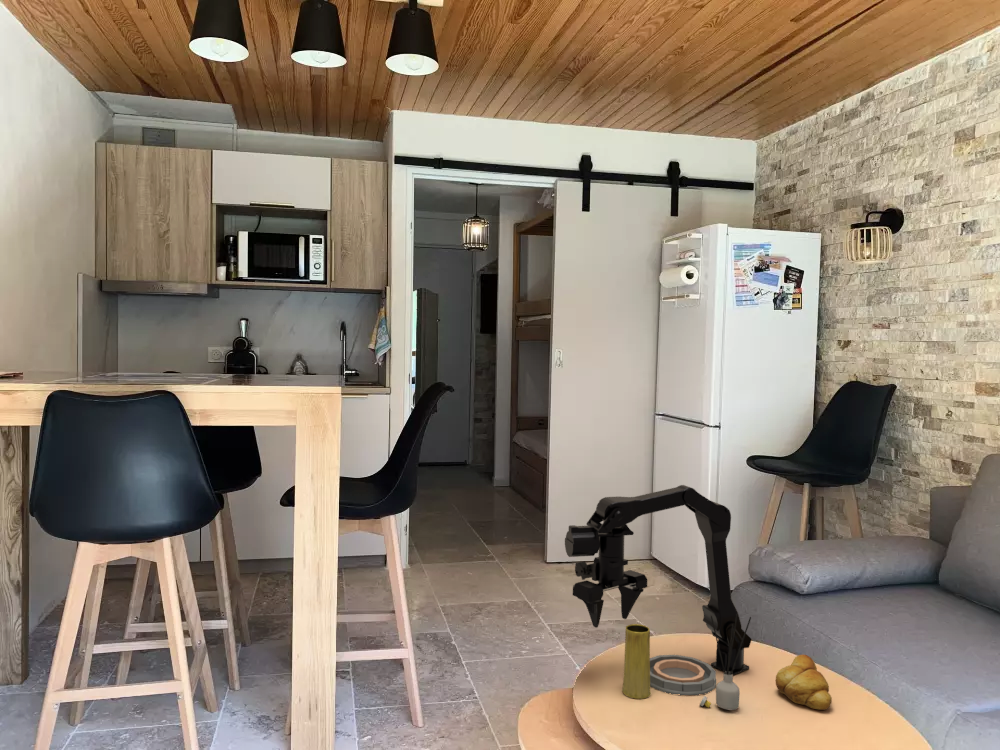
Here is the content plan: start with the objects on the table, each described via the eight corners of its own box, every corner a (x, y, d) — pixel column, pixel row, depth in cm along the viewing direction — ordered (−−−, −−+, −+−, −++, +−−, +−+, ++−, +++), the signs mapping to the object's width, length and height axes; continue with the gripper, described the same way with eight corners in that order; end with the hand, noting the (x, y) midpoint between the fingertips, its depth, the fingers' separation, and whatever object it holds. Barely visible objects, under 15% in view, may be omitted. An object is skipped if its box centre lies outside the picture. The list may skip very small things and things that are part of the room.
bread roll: (842, 713, 154) (843, 675, 153) (799, 716, 152) (800, 677, 152) (807, 685, 166) (808, 650, 166) (767, 688, 165) (768, 652, 165)
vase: (650, 700, 158) (651, 634, 158) (621, 697, 159) (622, 632, 159) (650, 688, 164) (651, 624, 163) (622, 685, 165) (623, 622, 165)
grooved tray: (673, 658, 180) (674, 648, 180) (731, 683, 167) (731, 672, 167) (627, 675, 170) (627, 665, 170) (684, 702, 157) (684, 691, 157)
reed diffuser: (745, 703, 157) (747, 610, 157) (755, 719, 151) (757, 621, 150) (696, 701, 158) (698, 608, 157) (705, 717, 151) (707, 620, 150)
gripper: (614, 541, 179) (613, 605, 180) (556, 552, 168) (555, 620, 169) (649, 551, 171) (648, 618, 171) (590, 564, 159) (589, 636, 160)
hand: (610, 622), depth 168 cm, fingers open, 9 cm apart
